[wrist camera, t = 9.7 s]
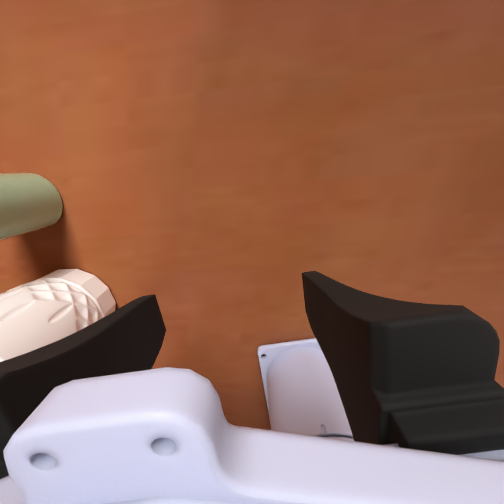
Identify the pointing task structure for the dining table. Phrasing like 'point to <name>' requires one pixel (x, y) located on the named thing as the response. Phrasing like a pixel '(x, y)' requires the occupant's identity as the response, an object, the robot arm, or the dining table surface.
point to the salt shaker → (27, 204)
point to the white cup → (50, 310)
